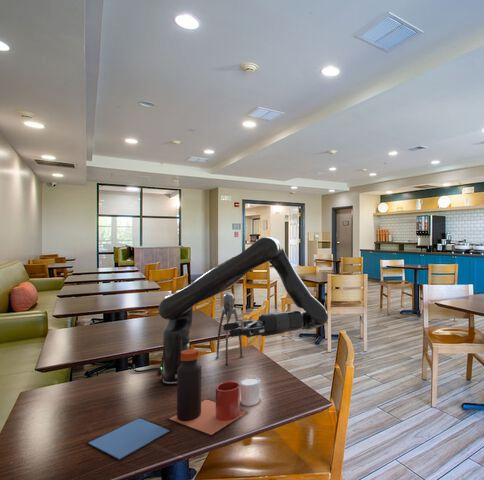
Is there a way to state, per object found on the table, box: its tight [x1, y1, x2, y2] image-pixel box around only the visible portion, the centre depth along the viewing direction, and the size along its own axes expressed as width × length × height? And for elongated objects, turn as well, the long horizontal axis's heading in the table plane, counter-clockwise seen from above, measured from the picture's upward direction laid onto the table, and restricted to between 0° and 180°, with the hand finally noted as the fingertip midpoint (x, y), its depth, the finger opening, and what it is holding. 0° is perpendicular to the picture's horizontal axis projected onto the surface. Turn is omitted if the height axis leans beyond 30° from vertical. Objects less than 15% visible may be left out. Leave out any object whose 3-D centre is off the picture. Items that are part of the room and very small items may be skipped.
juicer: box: [216, 292, 243, 366], centre depth 155 cm, size 10×11×30 cm
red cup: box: [215, 380, 241, 421], centre depth 107 cm, size 7×7×9 cm
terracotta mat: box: [168, 399, 247, 436], centre depth 107 cm, size 18×14×1 cm
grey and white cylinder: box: [239, 377, 262, 407], centre depth 116 cm, size 7×7×7 cm
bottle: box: [176, 348, 202, 421], centre depth 106 cm, size 7×7×20 cm
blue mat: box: [87, 417, 171, 461], centre depth 95 cm, size 14×14×1 cm
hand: (226, 330), depth 112 cm, fingers open, 8 cm apart
